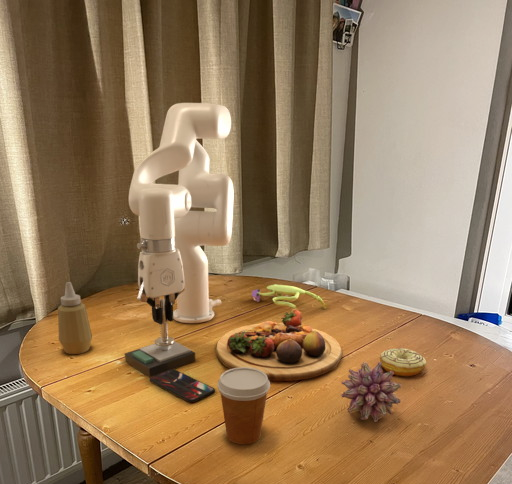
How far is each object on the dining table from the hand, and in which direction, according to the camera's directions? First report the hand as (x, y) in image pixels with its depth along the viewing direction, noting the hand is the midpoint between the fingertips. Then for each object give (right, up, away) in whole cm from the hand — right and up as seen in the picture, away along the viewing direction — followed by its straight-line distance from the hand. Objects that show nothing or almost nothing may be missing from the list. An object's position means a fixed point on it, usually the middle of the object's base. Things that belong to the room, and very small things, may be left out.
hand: (163, 320), depth 119 cm
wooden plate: (+28, -9, +8) cm, 30 cm away
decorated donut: (+57, -12, +1) cm, 59 cm away
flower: (+45, -20, -19) cm, 52 cm away
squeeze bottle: (-24, -8, +9) cm, 26 cm away
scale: (-1, -10, +3) cm, 11 cm away
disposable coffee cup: (+20, -22, -26) cm, 39 cm away
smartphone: (+6, -15, -9) cm, 18 cm away
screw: (0, -7, +3) cm, 8 cm away
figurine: (+33, +6, +44) cm, 55 cm away
